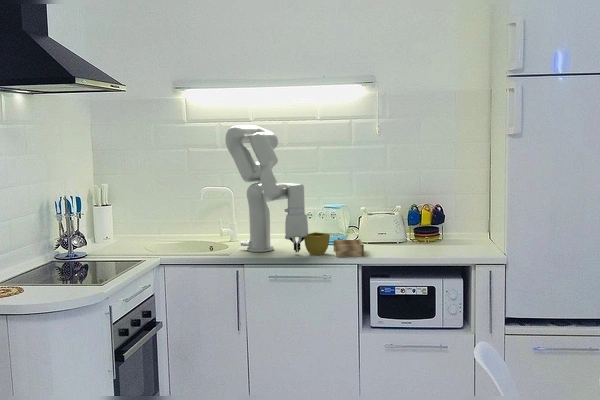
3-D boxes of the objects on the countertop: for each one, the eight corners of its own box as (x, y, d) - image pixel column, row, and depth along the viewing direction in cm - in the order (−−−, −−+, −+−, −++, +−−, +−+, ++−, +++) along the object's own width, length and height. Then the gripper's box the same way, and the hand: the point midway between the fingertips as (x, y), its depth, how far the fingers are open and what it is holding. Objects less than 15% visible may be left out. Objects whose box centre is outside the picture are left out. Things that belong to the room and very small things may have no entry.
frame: (335, 256, 285) (335, 245, 285) (333, 250, 300) (333, 240, 299) (363, 256, 285) (363, 244, 285) (360, 250, 300) (360, 239, 299)
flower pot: (319, 256, 286) (319, 236, 285) (303, 254, 292) (303, 234, 291) (330, 253, 293) (330, 233, 292) (314, 251, 299) (314, 232, 298)
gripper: (279, 212, 287) (280, 253, 288) (313, 211, 287) (314, 253, 288) (279, 210, 294) (280, 250, 296) (312, 209, 294) (313, 250, 296)
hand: (297, 251), depth 292 cm, fingers closed
